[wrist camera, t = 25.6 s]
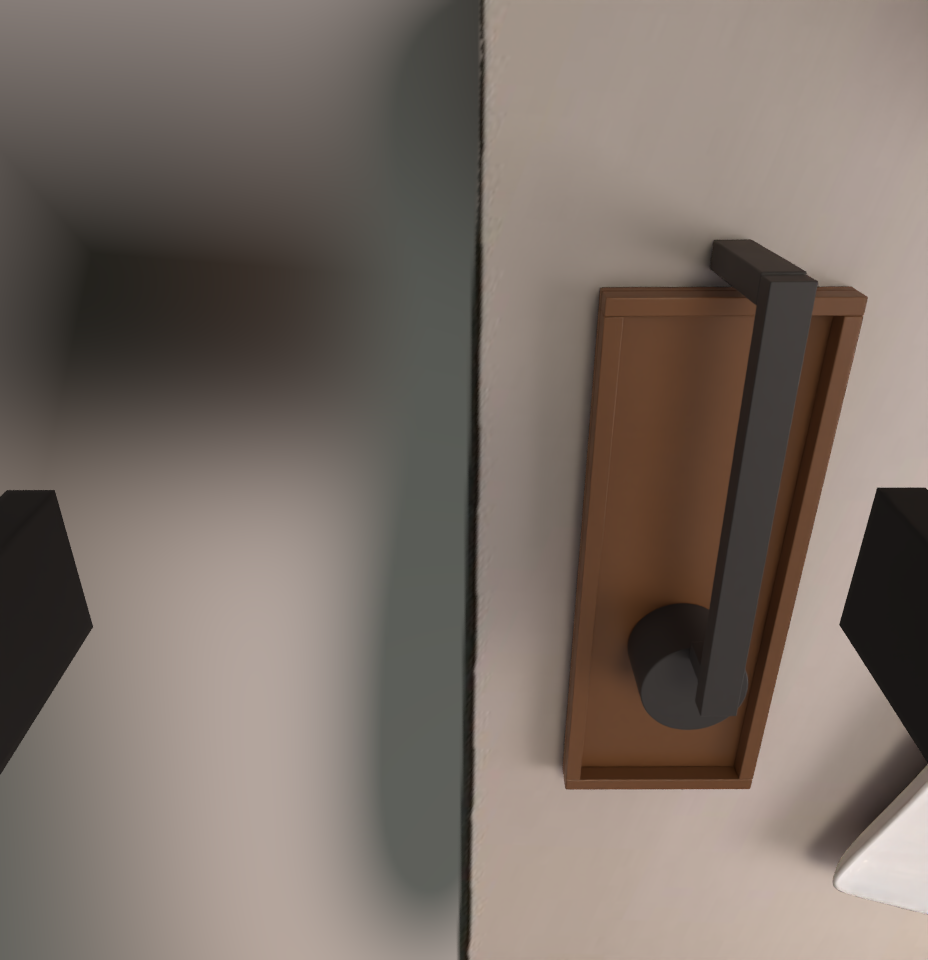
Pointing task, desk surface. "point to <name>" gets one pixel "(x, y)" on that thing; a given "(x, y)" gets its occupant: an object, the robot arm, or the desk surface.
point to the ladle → (733, 508)
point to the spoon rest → (685, 518)
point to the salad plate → (892, 853)
